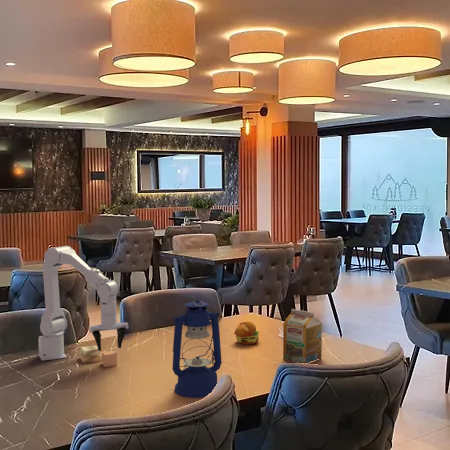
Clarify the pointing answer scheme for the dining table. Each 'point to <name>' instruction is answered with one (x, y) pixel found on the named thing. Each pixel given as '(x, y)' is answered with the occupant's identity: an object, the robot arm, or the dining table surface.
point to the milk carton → (302, 337)
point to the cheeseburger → (246, 333)
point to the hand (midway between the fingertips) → (109, 348)
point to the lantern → (196, 367)
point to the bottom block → (89, 358)
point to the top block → (90, 351)
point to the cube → (109, 358)
